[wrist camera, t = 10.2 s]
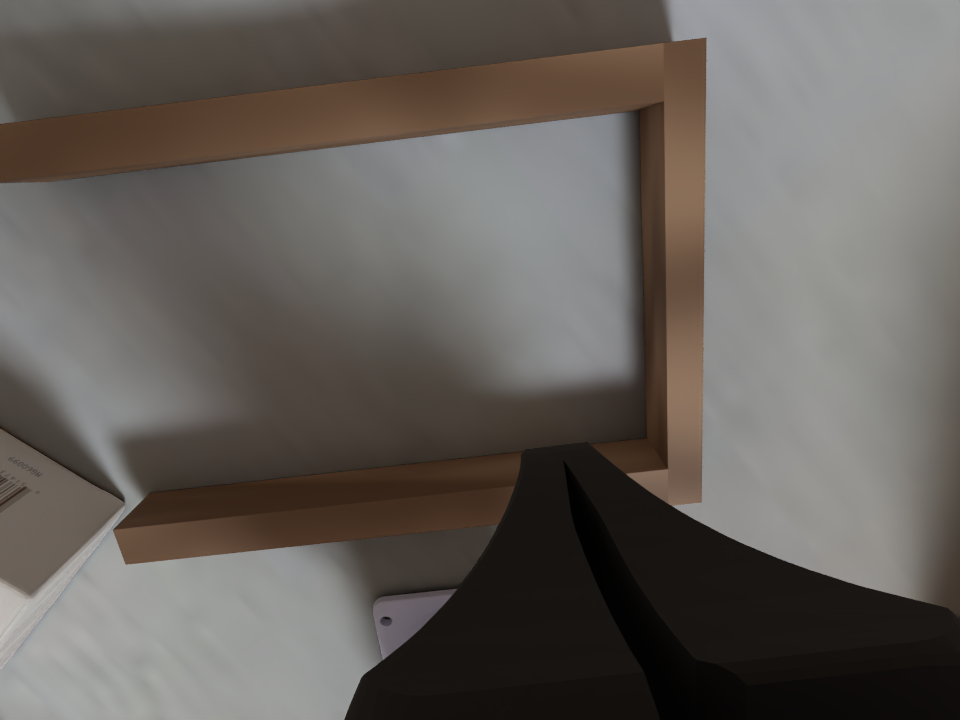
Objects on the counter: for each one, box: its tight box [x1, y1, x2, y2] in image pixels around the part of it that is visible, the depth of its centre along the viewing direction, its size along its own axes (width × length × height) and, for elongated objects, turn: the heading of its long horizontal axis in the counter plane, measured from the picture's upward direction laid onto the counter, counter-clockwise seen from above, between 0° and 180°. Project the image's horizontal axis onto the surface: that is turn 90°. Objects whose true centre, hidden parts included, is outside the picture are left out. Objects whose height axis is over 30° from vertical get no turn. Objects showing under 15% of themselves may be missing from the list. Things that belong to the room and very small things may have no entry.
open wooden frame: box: [0, 38, 706, 564], centre depth 20 cm, size 15×21×2 cm
